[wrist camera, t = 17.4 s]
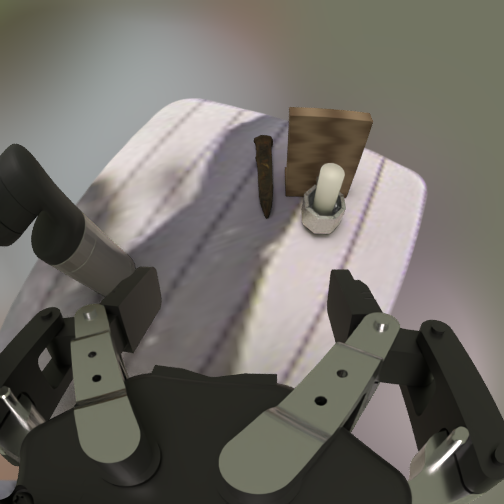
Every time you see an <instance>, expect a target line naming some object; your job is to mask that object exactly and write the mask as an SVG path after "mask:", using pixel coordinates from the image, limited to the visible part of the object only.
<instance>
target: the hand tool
mask: <svg viewBox="0 0 504 504" xmlns="http://www.w3.org/2000/svg"><path fill="white" fill-rule="evenodd" d="M254 143H255V145H256V151H257V153H256V157H255V158H256V161H257V167H258V187H259V199H260V204H261V207H262V209H263V212H264V215H265V217H266V218H268V216H269V214H270V210H271V207H272V197H273V184H272V154H271V147H272V145H273V139H272V137H271V136H267V135H260V136H258V137H256V138H254Z"/></svg>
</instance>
